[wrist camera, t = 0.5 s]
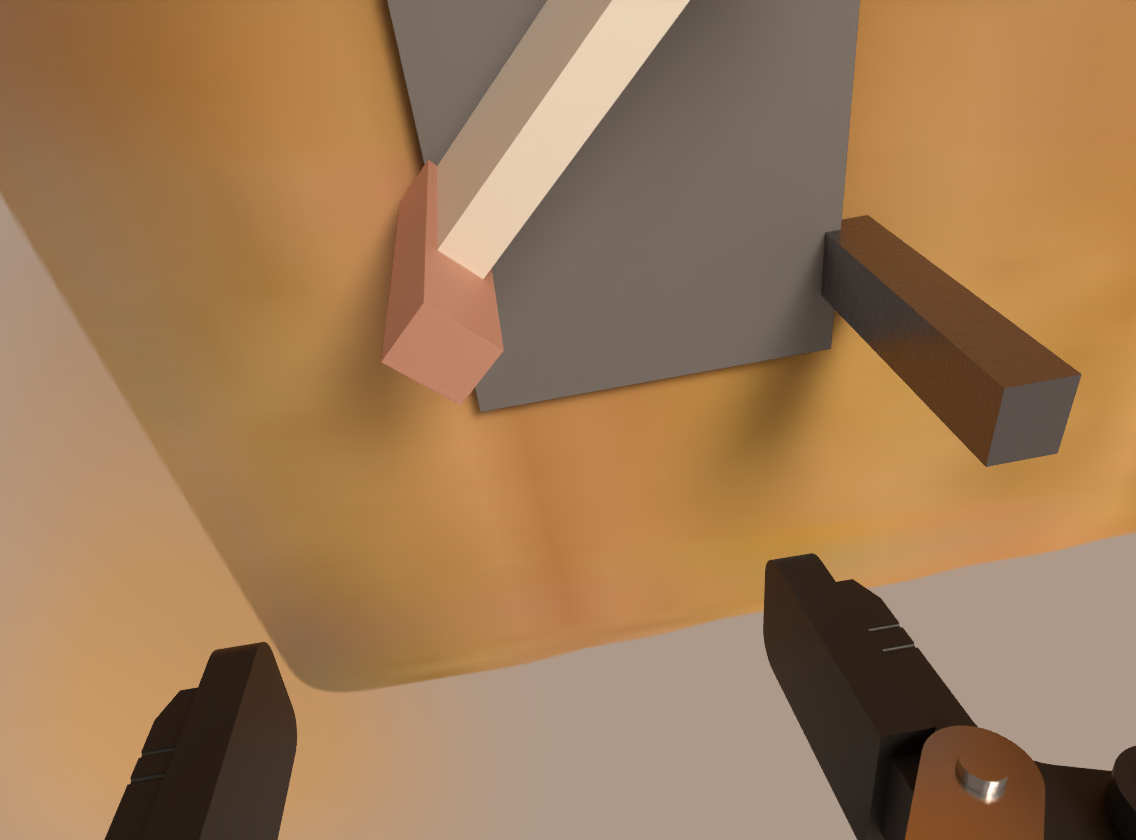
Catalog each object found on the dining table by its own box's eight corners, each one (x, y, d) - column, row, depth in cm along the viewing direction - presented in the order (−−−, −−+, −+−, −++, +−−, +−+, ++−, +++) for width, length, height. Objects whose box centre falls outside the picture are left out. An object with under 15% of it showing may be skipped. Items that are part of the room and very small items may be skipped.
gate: (733, -305, 23) (971, -465, 13) (786, -239, 24) (1046, -338, 14) (400, 202, 30) (381, 362, 20) (452, 236, 31) (460, 405, 21)
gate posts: (742, -391, 23) (1091, -715, 11) (840, -425, 23) (1305, -792, 11) (810, 292, 36) (1001, 495, 24) (872, 273, 36) (1095, 467, 24)
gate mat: (300, -393, 22) (295, -404, 21) (883, -469, 23) (900, -483, 22) (479, 400, 37) (480, 411, 36) (822, 338, 38) (830, 348, 37)
